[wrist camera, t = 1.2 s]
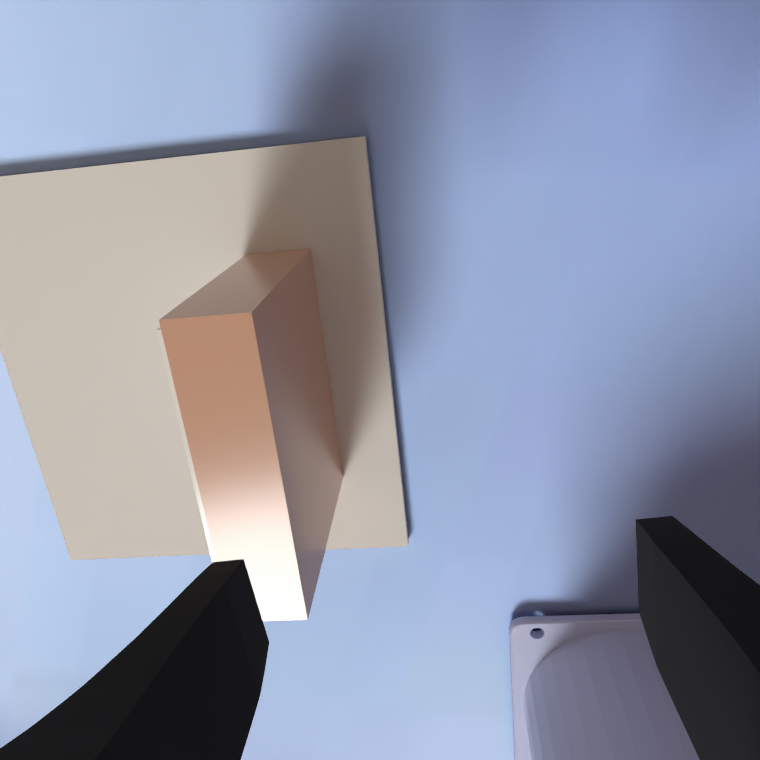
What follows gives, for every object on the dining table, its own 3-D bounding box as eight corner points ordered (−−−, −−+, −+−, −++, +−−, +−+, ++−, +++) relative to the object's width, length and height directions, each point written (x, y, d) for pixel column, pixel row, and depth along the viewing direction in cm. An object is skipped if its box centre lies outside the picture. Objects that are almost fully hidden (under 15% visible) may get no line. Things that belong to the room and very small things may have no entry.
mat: (365, 135, 19) (364, 136, 19) (408, 539, 24) (408, 546, 24) (-47, 181, 20) (-56, 182, 20) (76, 553, 26) (70, 559, 25)
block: (310, 247, 20) (251, 312, 14) (343, 476, 23) (307, 619, 16) (239, 254, 20) (147, 320, 14) (280, 480, 23) (221, 622, 17)
